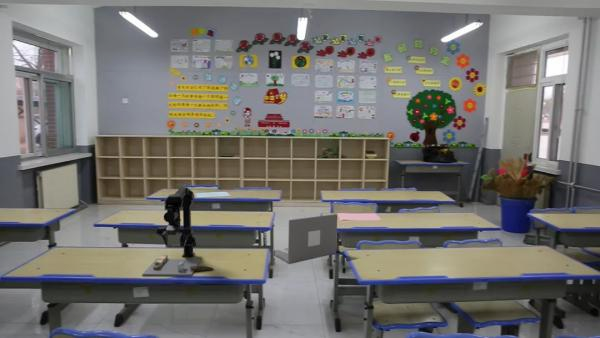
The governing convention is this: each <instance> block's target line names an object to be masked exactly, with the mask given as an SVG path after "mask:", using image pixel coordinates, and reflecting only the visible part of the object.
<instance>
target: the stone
mask: <svg viewBox="0 0 600 338" xmlns="http://www.w3.org/2000/svg"><path fill="white" fill-rule="evenodd" d="M190 269H192V270H195V271H198V272H199V271H200V272H205V271H213V270H214V268H213V267H210V266H206V265H205V266H204V265H198V266H190Z"/></svg>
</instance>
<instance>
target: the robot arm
mask: <svg viewBox="0 0 600 338" xmlns="http://www.w3.org/2000/svg"><path fill="white" fill-rule="evenodd" d="M194 201H195V193H194V192H193V191H192V190H191V189H189V187H187V186H181V187H178V189H177V190H176V192H174V193H173V194H172V193H171V194H168V196H167V197H166V201H165V207H164V210H167V211H166V212H164V215H163V221H165V222H166V223H168V224H167V226H159V227H158V228H156V230H155V233H156V235H159V236H160V237H161V238H162V240H163V241H164V244H165V246H166V247H168V245H169V242H168V240H169V239H168V238H169V237H168V236H176V234H178V233H179V234H180V233H181V234H180V236H179V237H180V238H179V244H180V247H181V248H183V254H182V255H181V257H182V258H193V257H194V255H196V253H195V252H194V248H195V247H197V240H196V239H197V238H196V237H195V233H194V228H193V227H192V210H191V209H192V205H193V204H194ZM181 208H182V219H181ZM181 220H183V221H181ZM181 222H182V224H183V227H182V226H181Z"/></svg>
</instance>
